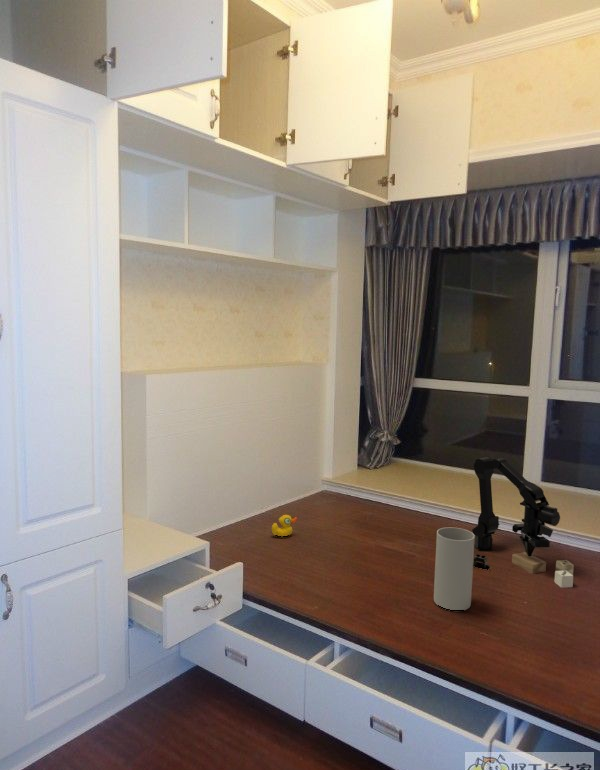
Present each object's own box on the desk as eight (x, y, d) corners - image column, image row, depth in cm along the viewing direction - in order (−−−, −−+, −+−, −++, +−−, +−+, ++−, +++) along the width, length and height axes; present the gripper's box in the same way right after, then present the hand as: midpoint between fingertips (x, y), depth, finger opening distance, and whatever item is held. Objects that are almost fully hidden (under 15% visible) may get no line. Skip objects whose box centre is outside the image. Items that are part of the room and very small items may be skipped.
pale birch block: (562, 576, 222) (563, 565, 221) (555, 571, 226) (556, 560, 226) (572, 576, 223) (573, 564, 222) (566, 571, 227) (566, 559, 226)
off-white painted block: (561, 587, 212) (562, 575, 212) (554, 582, 217) (555, 570, 216) (572, 587, 213) (573, 575, 212) (565, 581, 217) (566, 570, 217)
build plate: (497, 568, 230) (498, 557, 229) (493, 574, 224) (494, 563, 223) (467, 560, 236) (467, 549, 236) (461, 566, 230) (462, 555, 230)
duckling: (295, 533, 260) (295, 512, 259) (297, 538, 255) (298, 516, 254) (270, 535, 258) (270, 513, 257) (272, 539, 253) (272, 517, 252)
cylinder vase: (464, 616, 190) (468, 543, 187) (428, 605, 196) (431, 535, 194) (474, 600, 200) (478, 532, 198) (440, 591, 207) (443, 524, 204)
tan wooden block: (532, 574, 223) (532, 564, 223) (511, 563, 234) (512, 554, 233) (545, 571, 226) (546, 562, 226) (524, 561, 236) (525, 551, 236)
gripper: (564, 526, 220) (561, 565, 221) (537, 510, 238) (535, 546, 240) (537, 526, 218) (534, 566, 220) (512, 510, 236) (510, 547, 238)
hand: (529, 555), depth 229 cm, fingers closed
